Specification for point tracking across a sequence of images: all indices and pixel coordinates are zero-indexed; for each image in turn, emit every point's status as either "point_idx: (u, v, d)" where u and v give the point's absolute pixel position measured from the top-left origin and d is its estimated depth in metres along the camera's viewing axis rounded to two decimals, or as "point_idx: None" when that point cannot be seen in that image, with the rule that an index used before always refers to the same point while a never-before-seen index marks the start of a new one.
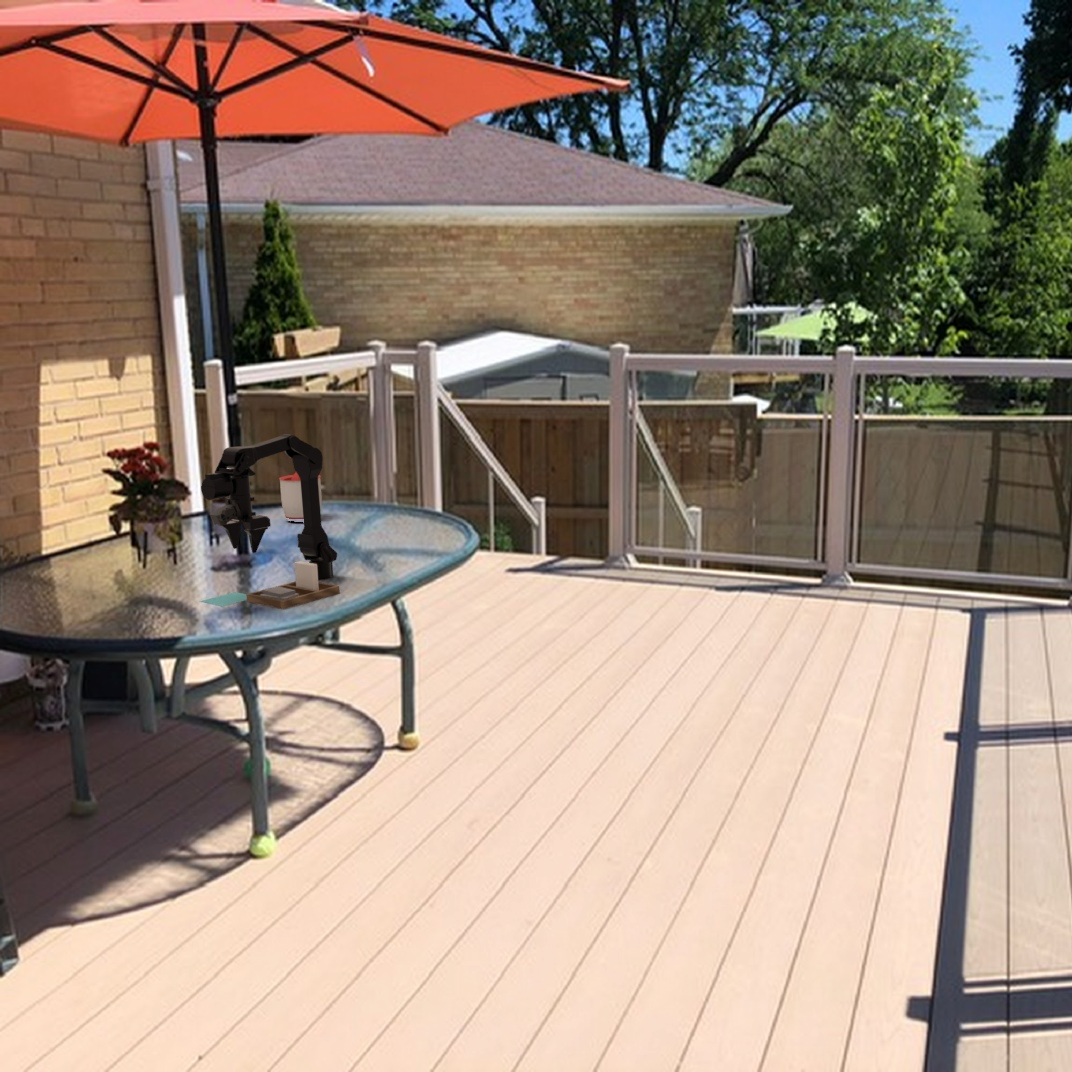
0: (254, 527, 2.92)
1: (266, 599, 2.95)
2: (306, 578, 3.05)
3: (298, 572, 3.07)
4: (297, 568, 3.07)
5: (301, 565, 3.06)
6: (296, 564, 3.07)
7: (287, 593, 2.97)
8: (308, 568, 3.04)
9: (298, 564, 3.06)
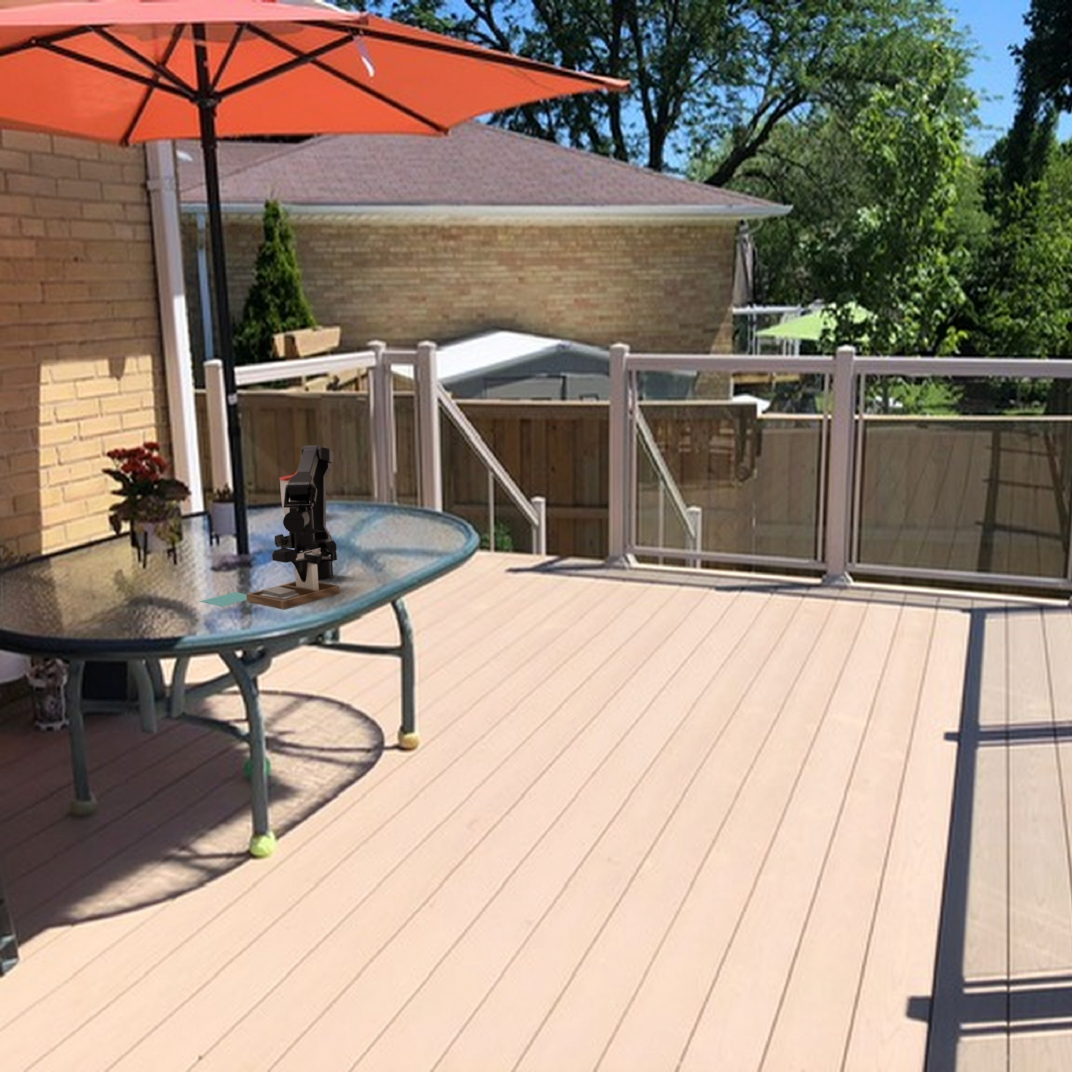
0: (273, 558, 2.99)
1: (266, 599, 2.95)
2: (306, 578, 3.05)
3: None
4: None
5: None
6: None
7: (287, 593, 2.97)
8: (308, 568, 3.04)
9: None
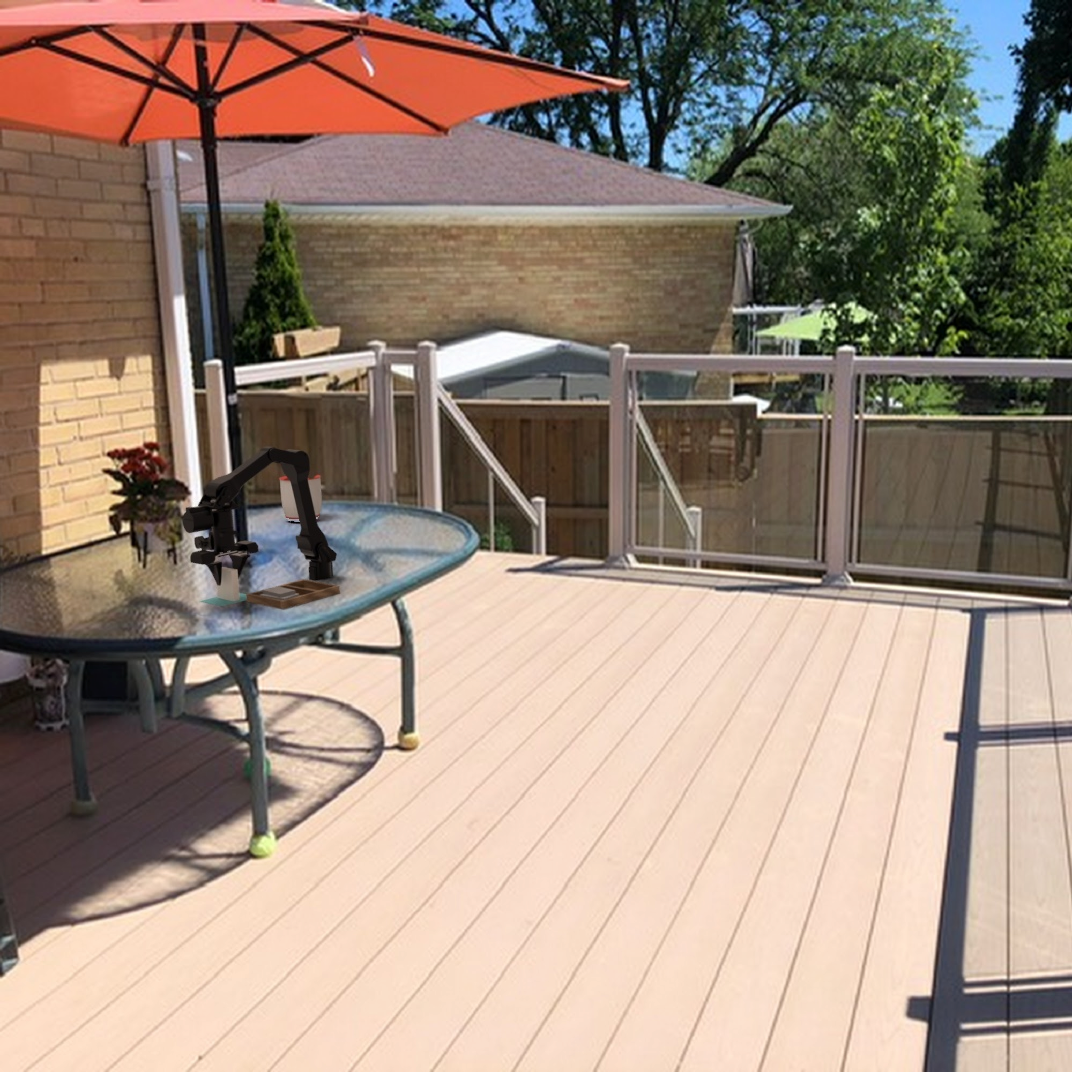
0: (191, 560, 2.95)
1: (266, 599, 2.95)
2: (226, 584, 3.01)
3: None
4: None
5: None
6: None
7: (287, 593, 2.97)
8: (228, 573, 3.00)
9: None
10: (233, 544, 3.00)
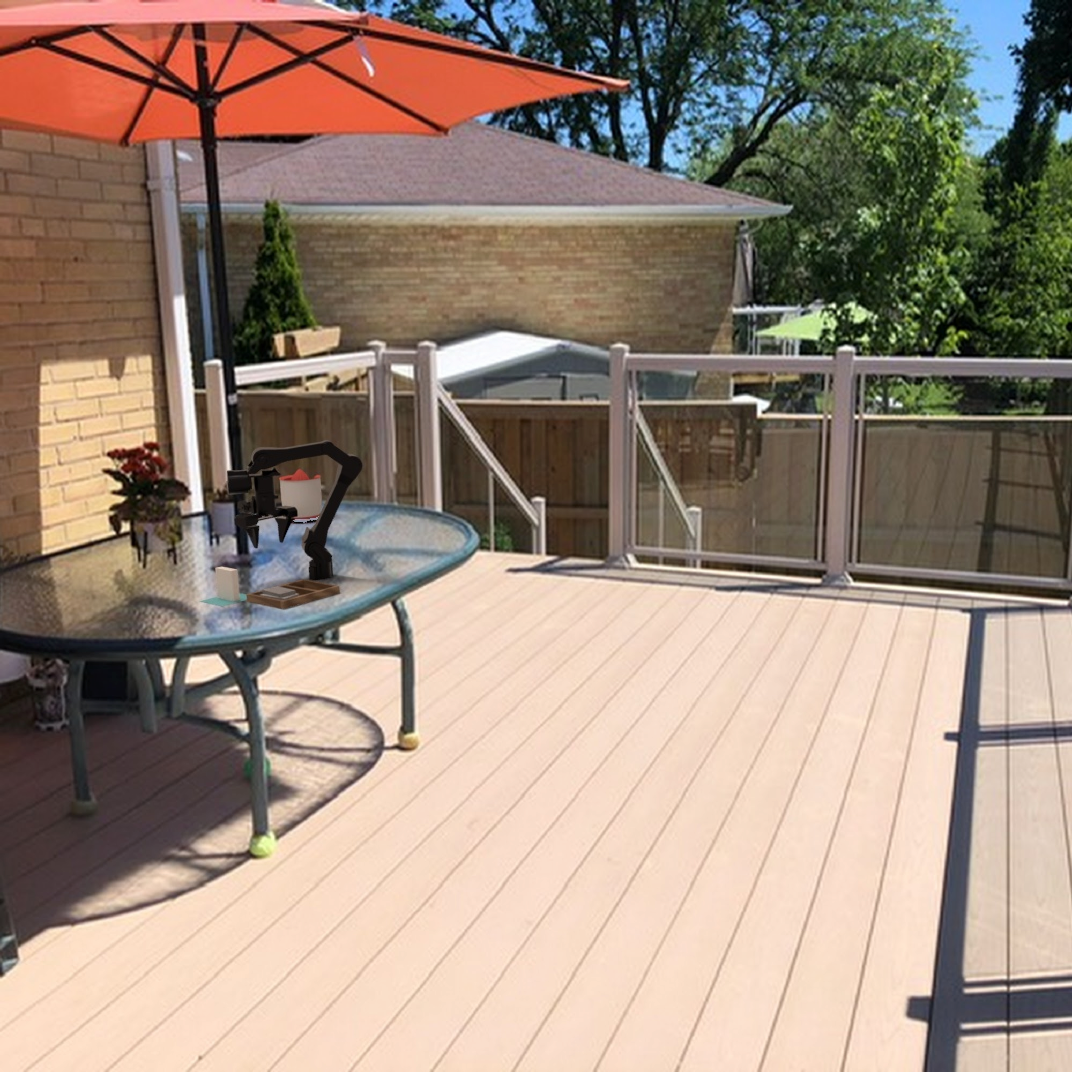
0: (235, 523, 3.12)
1: (266, 599, 2.95)
2: (226, 584, 3.01)
3: (219, 577, 3.03)
4: (218, 573, 3.03)
5: (221, 571, 3.02)
6: (217, 569, 3.03)
7: (287, 593, 2.97)
8: (228, 573, 3.00)
9: (219, 569, 3.02)
10: (274, 508, 3.16)
